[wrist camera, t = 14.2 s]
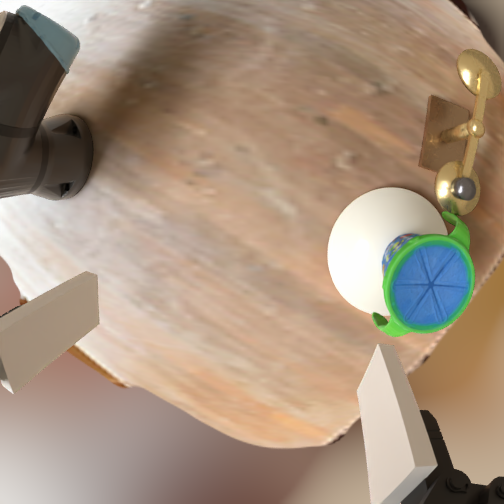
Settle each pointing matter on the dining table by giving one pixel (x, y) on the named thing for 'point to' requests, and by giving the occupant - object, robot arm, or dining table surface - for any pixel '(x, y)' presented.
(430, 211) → the dish
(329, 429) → the dining table surface
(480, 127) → the balance
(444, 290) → the snack cup
